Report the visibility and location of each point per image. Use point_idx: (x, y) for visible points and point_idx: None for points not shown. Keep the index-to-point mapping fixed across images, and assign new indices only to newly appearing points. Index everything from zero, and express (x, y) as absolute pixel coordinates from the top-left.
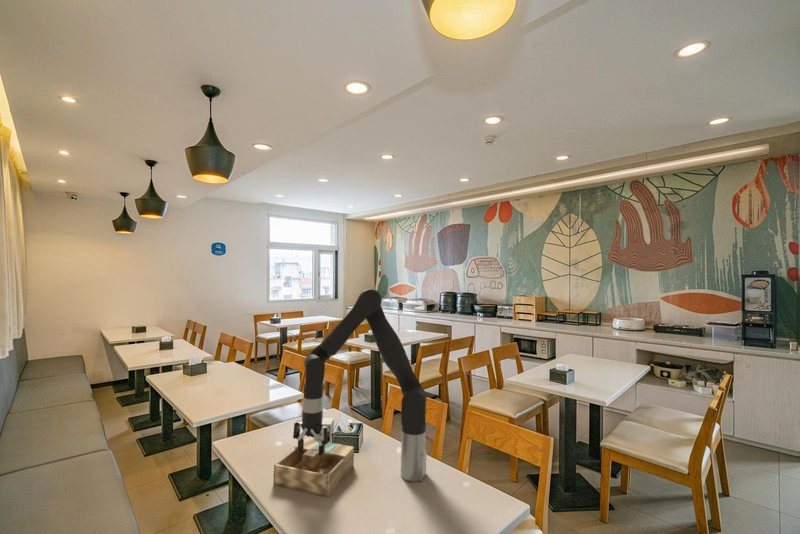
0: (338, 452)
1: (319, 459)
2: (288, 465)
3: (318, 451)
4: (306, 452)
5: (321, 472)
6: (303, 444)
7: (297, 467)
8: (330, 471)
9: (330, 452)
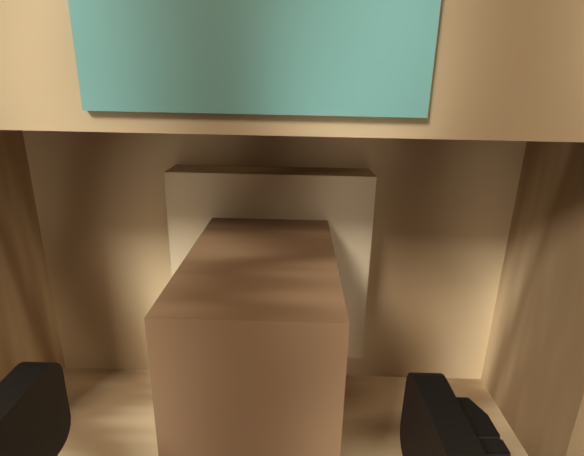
0: (579, 62)
1: (337, 266)
2: (5, 253)
3: (335, 339)
4: (173, 416)
5: (359, 232)
6: (10, 417)
7: (63, 149)
8: (569, 446)
9: (443, 106)
